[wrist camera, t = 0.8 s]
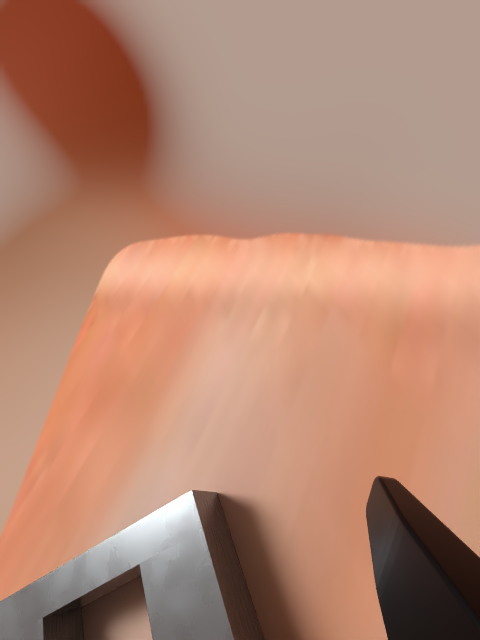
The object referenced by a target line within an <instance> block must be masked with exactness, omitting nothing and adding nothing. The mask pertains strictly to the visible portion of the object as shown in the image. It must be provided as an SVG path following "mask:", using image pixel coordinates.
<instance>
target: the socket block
mask: <svg viewBox="0 0 480 640" xmlns="http://www.w3.org/2000/svg"><path fill="white" fill-rule="evenodd" d="M140 575H141V576H142V582H143V587H144V593H145V599H146V604H147V610H148V615H149V621H150V627H151V632H152V638H153V640H264V638H263V635H262V632H261V628H260V625H259V622H258V619H257V616H256V613H255V610H254V607H253V604H252V600H251V597H250V594H249V591H248V588H247V585H246V582H245V579H244V576H243V572H242V569H241V566H240V563H239V560H238V557H237V554H236V551H235V548H234V544H233V541H232V538H231V535H230V532H229V529H228V526H227V523H226V520H225V516H224V513H223V510H222V507H221V504H220V501H219V498H218V495H217V492H207V491H197V490H191V491H189V492H187V493H186V494H184V495H182V496H181V497H179V498H177V499H175V500H174V501H172V502H170V503H169V504H167V505H165V506H163V507H162V508H160V509H158V510H157V511H155V512H153V513H151V514H150V515H148V516H146V517H145V518H143V519H141V520H139V521H138V522H136V523H134V524H132V525H131V526H129V527H127V528H126V529H124V530H122V531H120V532H119V533H117V534H115V535H114V536H112V537H110V538H108V539H107V540H105V541H103V542H102V543H100V544H98V545H96V546H95V547H93V548H91V549H90V550H88V551H86V552H84V553H83V554H81V555H79V556H78V557H76V558H74V559H72V560H71V561H69V562H67V563H66V564H64V565H62V566H60V567H59V568H57V569H55V570H53V571H52V572H50V573H48V574H47V575H45V576H43V577H41V578H40V579H38V580H36V581H35V582H33V583H31V584H29V585H28V586H26V587H24V588H23V589H21V590H19V591H17V592H16V593H14V594H12V595H11V596H9V597H7V598H5V599H4V600H2V601H0V640H84V636H83V625H82V614H81V608H82V607H84V606H85V605H87V604H89V603H91V602H93V601H95V600H96V599H98V598H100V597H102V596H104V595H106V594H107V593H109V592H111V591H113V590H115V589H116V588H118V587H120V586H122V585H124V584H126V583H127V582H129V581H131V580H133V579H135V578H137V577H138V576H140Z"/></svg>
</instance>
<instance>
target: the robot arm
mask: <svg viewBox="0 0 480 640" xmlns="http://www.w3.org/2000/svg"><path fill="white" fill-rule="evenodd" d="M366 518H367V526H368V533H369V540H370V548H371V555H372V562H373V570H374V577H375V583H376V590H377V594H378V599H379V603H380V608H381V612H382V616H383V620H384V624H385V628H386V633H387V637H388V640H480V557H479V556H478V555H476V554H475V553H474V552H473V551H472V550H471V549H470V548H469V547H468V546H467V545H466V544H465V543H464V542H463V541H462V540H460V539H459V538H458V537H457V536H456V535H455V534H454V533H453V532H452V531H451V530H450V529H449V528H448V527H447V526H446V525H444V524H443V523H442V522H441V521H440V520H439V519H438V518H437V517H436V516H435V515H434V514H433V513H432V512H431V511H429V510H428V509H427V508H426V507H425V506H424V505H423V504H422V503H421V502H420V501H419V500H418V499H417V498H416V497H415V496H413V495H412V494H411V493H410V492H409V491H408V490H407V489H406V488H405V487H404V486H403V485H402V484H401V483H400V482H399V481H397V480H396V479H394V478H389V477H382V476H378V477H376V478H375V479H374V482H373V485H372V488H371V492H370V495H369V499H368V502H367V506H366Z"/></svg>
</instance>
